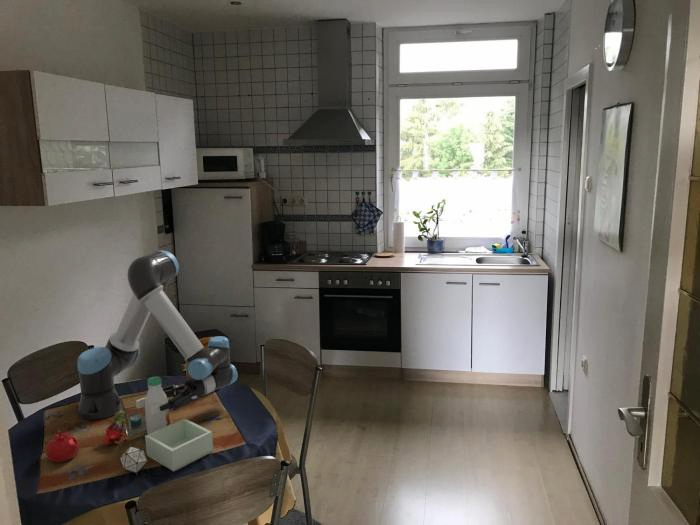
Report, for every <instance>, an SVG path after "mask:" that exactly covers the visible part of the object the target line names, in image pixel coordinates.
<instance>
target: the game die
mask: <svg viewBox="0 0 700 525" xmlns="http://www.w3.org/2000/svg"><path fill="white" fill-rule="evenodd" d="M128 445H129V447H128V448H127V449H126V451H124V453H123V454H122V455H121V456H118V457H117V459H118V460H120V462H121V466H122V468H121V471H124V472H125V473H126V472H127V471H129V472H132V473H135V474H136V476H138V475H139V473H138V472H139V471H140V470H141V469H142V468H143V467H144V466H145V465H146V463H150V462H151V461H150V460H149V459H148V458H147V457H146V456H147V455H146V454H145V451H146V448H144V449H143V447H140V448H138V447H134V446H132V444H131V443H129V444H128Z"/></svg>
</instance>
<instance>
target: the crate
mask: <svg viewBox="0 0 700 525" xmlns="http://www.w3.org/2000/svg"><path fill="white" fill-rule="evenodd" d="M144 439H145V447H146V448H145V451H146V456H147V457H149V458H150V459H152V460H153V461H155V462H157V463H159V464H160V465H162V466H164V467H165V468H168V469H169V470H170V471H171V472H173V473H174V472H175V471H178V470H180V469H182V468H184V467H186V466H189V464H191V463H194V462H196V461H197V460H199V459H202V458H204V457H206V456H207V455H210V454H211V453H213V452H214V441H213V431H211V430H210V429H208V428H205V427H204V426H201V425H199V424H197V423H195V422H193V421H190V420H189V419H186V418H183V419H180V420H178V421H176V422H174V423H170V425H169V426H166V427H164V428H162V429H159V430H157V431H155V432H153V433H150V434H147V435H145V436H144Z"/></svg>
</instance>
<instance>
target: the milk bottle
mask: <svg viewBox="0 0 700 525" xmlns="http://www.w3.org/2000/svg"><path fill="white" fill-rule="evenodd" d="M146 382H147V383H146V384H147V387H148V389H147V393H146V395H145V397H146V398H145V406H144V414H145V425H146V433H147V435H148V434H150V433H153V432H155V431H157V430H159V429H162V428H164V427H166V426H169V425H171V419H170V409H166V410H164V411H161V412H159V413H156V414H154V415H152V416H151V415H150V410H149V407H152V406H154V405H157V404H159V403H162V402H164V401H168V398H167V396H166V394H165V393H164V391H163V389H162V388H163V387H162V384H163V382H162V377H160V376H151V377H149V378H148V379H147V381H146Z"/></svg>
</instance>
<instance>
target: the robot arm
mask: <svg viewBox="0 0 700 525" xmlns="http://www.w3.org/2000/svg"><path fill="white" fill-rule="evenodd" d="M128 266H129V267H128V269H127V275H126V276H127V281H128V284H129V287H130V290H131V292H132V293H133V294H132V295H131V299H130V301H129V303H128V305H127V307H126V309H125V312H124V314H123V316H122V319H121V322H120V324H119V325H118V327H117V330H116V332H113V333H111V334H110V336H109V338H108V340H107V343H106V344H105V346H96V347H93V348H89V349H87V350H85V351H83V352H82V353H81V354H79V356H78V357H77V373H78V380H79V387H80V388H79V389H80V394H81V395H80V400H79V403H78V408H77V412H78V417H79V419H80V418H81V419H82V420H87V421H95V420H103V419H106V418H109V417H112V416H115V414H116V413H117V412H119V411H122V406H123V405H122V400H121V398H120V396H119V394H118V392H117V391H116V388H115V377H116V376H117V375H119V374H121V373H122V372H124V371H125V370H127V369H129V368H131V367H132V366H133V365H134V364H135V363H136V362H138V359H139V358H140V353H141V352H140V351H141V350H140V342H139V338H140V336H141V334H142V332H143V330H144V327H145V325H146V323H147V321H148V319H149V316H150V315H151V314H152V315H153V317H154V318H155V319H156V322H158V324H159V325H160V327H161V328H162V329H163V331H164V332H165V333H166V335H167V336H168V337H169V339H170V340H171V341H172V342H173V344H174V346H176V348H177V350H178V351H179V352H180V354H182V356H183V358H184V359H185V361H186V360H187V362H188V363H189V365H188V373H189V375H190V376H191V377H192V378H190V379H188V380H187V379H186V381H185V382H184V384H180V385H177V383H175V382H174V383H172V384H170V385H167V386H164V387H162V389H163V391H164V393H165V394H166V396H167V400H168V401H164V402H162V403H159V404H157V405H154V406H152V407H149V410H150V415H151V416H152V415H154V414H156V413H159V412H161V411H164V410H166V409H169V410H172V409H173V410H174V411H175V410H178V409H180V408H182V407H185V406H186V405H189V404H190V403H192V402H195V401H198V398H200V397H203V396H205V395H208V394H210V393H212V392H214V391H217V390H220V389H222V388H224V387H227V386H229V385H232V384H234V383H235V382H236V381H237V380H238V371H237V368H236V367H235V365H234V364H232V363H231V357H230V356H231V355H230V354H231V353H230V352H231V351H230V348H231V347H230V342H229V339H228V338H227V337H226V336H221V335H220V336H211V337H212V338H210V339H209V342H208V347H209V348H208V349H207V350H206V349H205V348H204V346H203V345H202V344H201V342H200V341H199V340H198V339H199V338H198V337H197V335H196V334H195V333H194V331H193V330H192V329H191V327H190V326H189V324H188V323H187V322H186V320H185V319H184V318H183V316H182V315H181V314H180V312H179V311H178V309H177V308H176V306H175V305H174V304H173V303H172V301H171V300H170V298H169V297H168V296H167V294H166V293H165V291H166V289H167V287H168V286H169V283H170V281H171V280H173V279H175V277H176V276H177V275H178V273H179V269H180V265H179V262H178V259H177V258H176V256H175V255H174V254H172V253H171V252H170V251H167V250H155V251H154V252H151V253H149V254H146V255H143V256H139V257H137V258H136V259H134V260H132V262H131V263H130V265H128ZM145 398H146V396H144V397H142V398H140V399H139V398H138V399H137V400H135V406H136V409H141V408H143V407H145ZM170 398H171V399H170Z"/></svg>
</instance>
